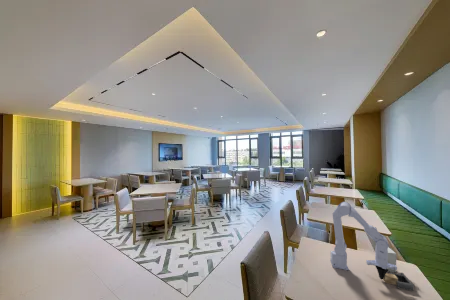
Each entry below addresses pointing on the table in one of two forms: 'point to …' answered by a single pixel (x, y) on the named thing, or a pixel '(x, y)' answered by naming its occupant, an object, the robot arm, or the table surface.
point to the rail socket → (406, 283)
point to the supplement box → (391, 259)
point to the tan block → (390, 279)
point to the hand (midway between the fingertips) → (381, 277)
